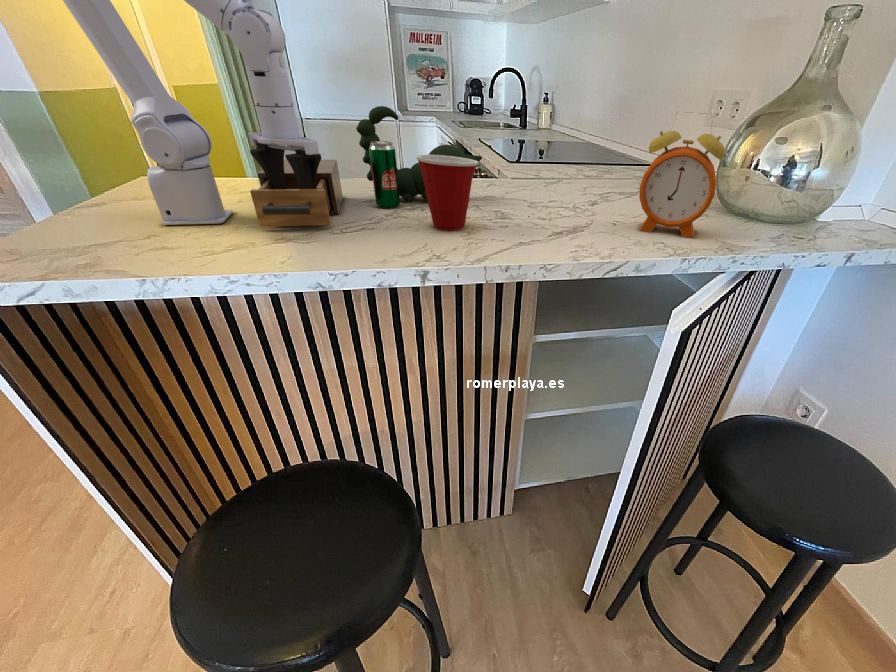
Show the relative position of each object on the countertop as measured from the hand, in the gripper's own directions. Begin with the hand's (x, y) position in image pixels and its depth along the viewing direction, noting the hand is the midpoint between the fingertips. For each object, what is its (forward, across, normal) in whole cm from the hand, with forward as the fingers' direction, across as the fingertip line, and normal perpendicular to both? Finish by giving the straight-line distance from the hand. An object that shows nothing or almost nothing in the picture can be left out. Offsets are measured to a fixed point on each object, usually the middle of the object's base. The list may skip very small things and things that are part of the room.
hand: (294, 194), depth 80 cm
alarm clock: (+5, +59, +38) cm, 70 cm away
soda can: (+5, +4, +19) cm, 20 cm away
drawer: (+4, +1, -1) cm, 4 cm away
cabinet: (+5, -8, +9) cm, 13 cm away
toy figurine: (+5, +7, +28) cm, 29 cm away
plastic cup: (+5, +23, +14) cm, 28 cm away
